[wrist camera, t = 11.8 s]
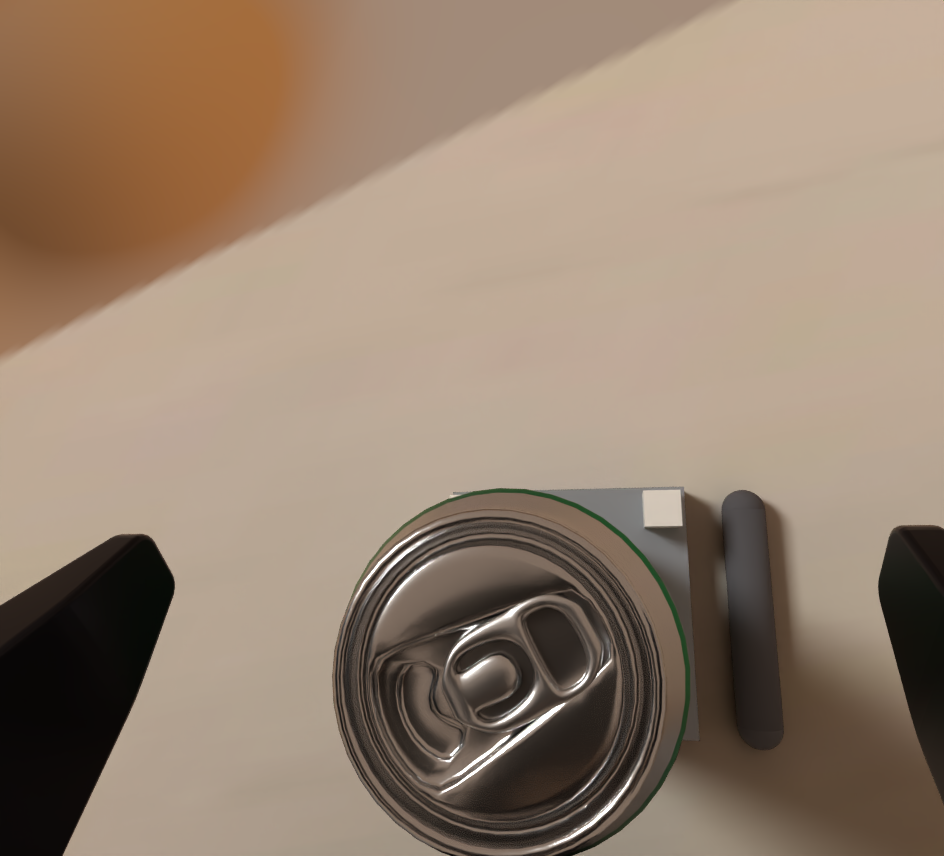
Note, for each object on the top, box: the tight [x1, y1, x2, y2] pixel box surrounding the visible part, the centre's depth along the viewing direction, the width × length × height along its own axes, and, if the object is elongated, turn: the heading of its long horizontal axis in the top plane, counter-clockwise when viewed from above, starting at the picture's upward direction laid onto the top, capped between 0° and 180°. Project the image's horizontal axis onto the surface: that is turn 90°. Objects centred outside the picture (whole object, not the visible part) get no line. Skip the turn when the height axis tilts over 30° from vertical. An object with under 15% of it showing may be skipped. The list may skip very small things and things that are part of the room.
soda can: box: [332, 488, 690, 856], centre depth 14 cm, size 5×5×12 cm
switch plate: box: [450, 487, 700, 741], centre depth 20 cm, size 7×7×2 cm
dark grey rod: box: [722, 490, 784, 750], centre depth 20 cm, size 7×1×1 cm, turn 0°
